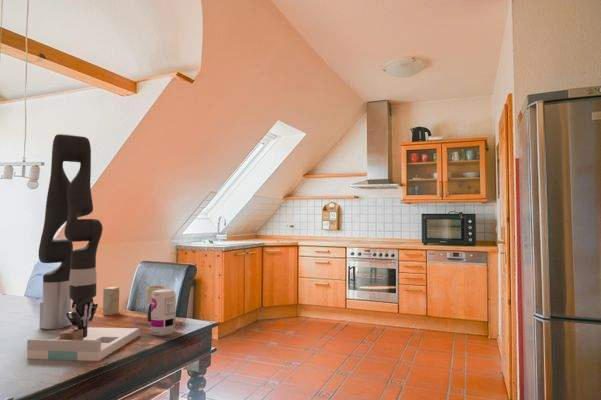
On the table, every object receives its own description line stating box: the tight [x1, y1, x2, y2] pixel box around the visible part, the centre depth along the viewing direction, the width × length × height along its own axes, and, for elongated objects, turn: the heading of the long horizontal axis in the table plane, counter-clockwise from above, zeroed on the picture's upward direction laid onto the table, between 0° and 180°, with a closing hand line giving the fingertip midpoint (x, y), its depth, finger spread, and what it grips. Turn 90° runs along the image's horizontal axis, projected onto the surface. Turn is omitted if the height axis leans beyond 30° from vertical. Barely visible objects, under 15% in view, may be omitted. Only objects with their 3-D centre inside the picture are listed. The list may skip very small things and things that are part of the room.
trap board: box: [26, 326, 140, 362], centre depth 128 cm, size 22×24×6 cm
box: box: [102, 286, 120, 316], centre depth 171 cm, size 5×4×11 cm
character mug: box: [145, 285, 166, 320], centre depth 161 cm, size 11×7×13 cm, turn 44°
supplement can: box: [150, 288, 177, 337], centre depth 143 cm, size 8×8×15 cm
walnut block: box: [59, 328, 83, 340], centre depth 121 cm, size 4×4×4 cm
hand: (82, 337), depth 126 cm, fingers closed
